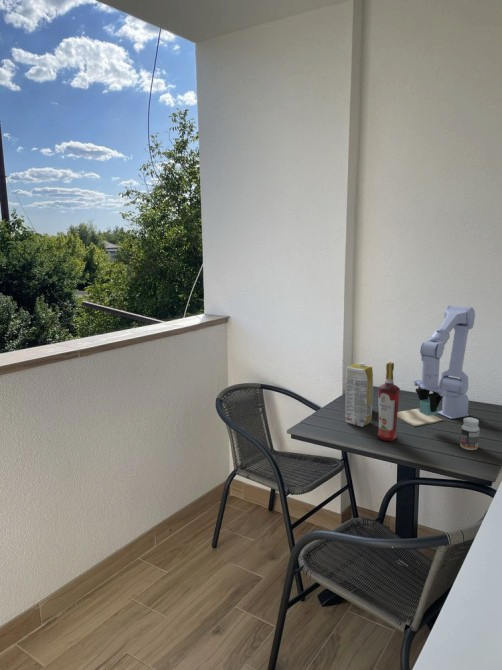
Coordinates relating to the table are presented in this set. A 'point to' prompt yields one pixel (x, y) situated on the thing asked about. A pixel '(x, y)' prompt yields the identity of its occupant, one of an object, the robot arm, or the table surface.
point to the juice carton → (358, 394)
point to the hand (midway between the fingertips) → (428, 409)
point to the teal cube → (426, 407)
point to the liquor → (388, 406)
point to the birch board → (417, 417)
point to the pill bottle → (470, 434)
